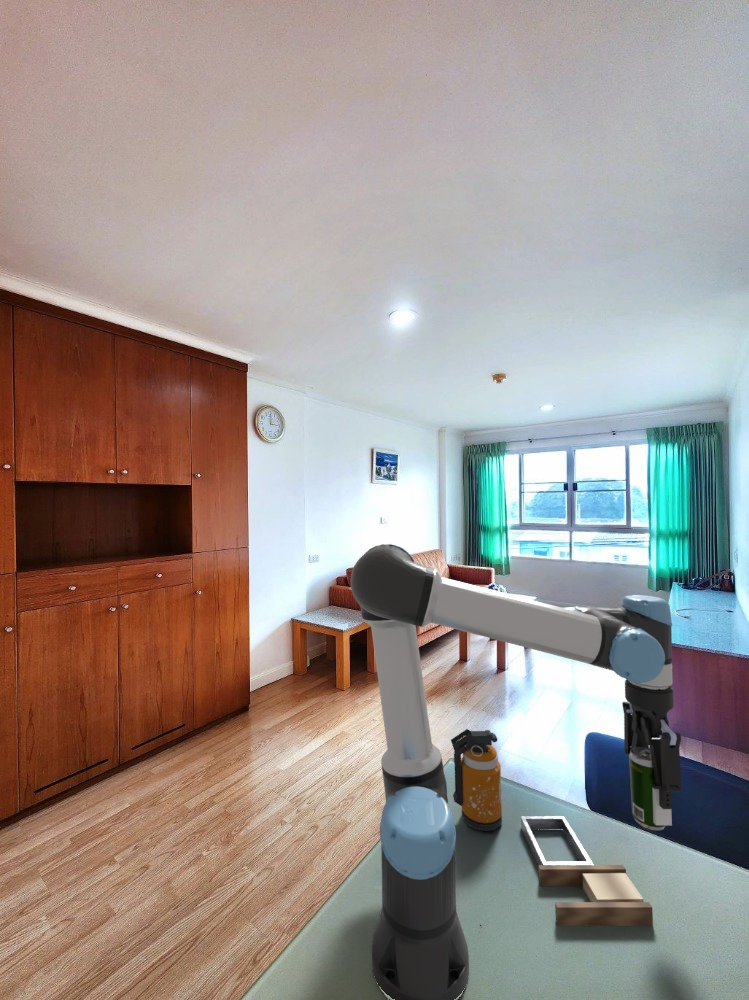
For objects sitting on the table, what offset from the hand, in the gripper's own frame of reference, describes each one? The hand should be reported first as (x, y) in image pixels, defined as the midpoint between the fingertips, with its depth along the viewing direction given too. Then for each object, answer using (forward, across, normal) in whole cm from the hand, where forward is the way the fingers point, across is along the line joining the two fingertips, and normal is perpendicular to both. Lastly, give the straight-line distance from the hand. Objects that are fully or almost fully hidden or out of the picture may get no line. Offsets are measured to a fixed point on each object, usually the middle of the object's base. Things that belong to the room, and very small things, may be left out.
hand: (651, 811), depth 79 cm
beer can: (+2, 0, 0) cm, 2 cm away
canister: (+16, +22, +27) cm, 38 cm away
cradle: (+16, +12, +13) cm, 24 cm away
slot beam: (+16, 0, +11) cm, 19 cm away
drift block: (+16, 0, +7) cm, 18 cm away
